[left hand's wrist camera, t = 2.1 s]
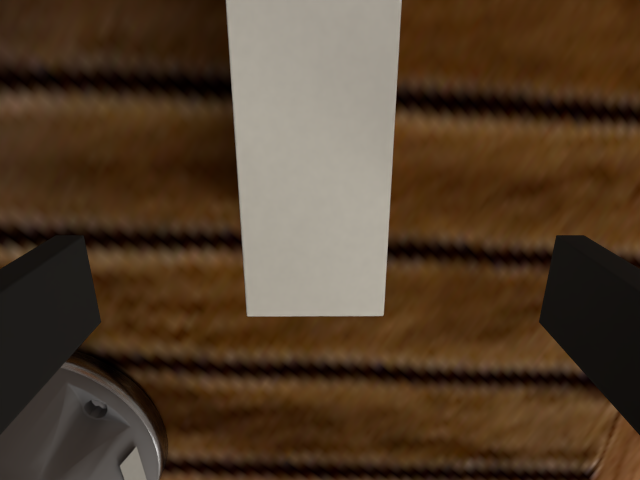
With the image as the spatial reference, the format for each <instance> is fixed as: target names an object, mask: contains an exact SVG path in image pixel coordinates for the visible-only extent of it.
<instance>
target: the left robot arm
mask: <svg viewBox="0 0 640 480" xmlns="http://www.w3.org/2000/svg"><path fill="white" fill-rule="evenodd" d="M100 323H101V320H100V315H99V310H98V305H97V300H96V295H95V290H94V285H93V280H92V275H91V270H90V265H89V260H88V255H87V250H86V245H85V240H84V235H56V236H54V237H53V238H51V239H49V240H48V241H46V242H44V243H43V244H41V245H39V246H38V247H36V248H34V249H33V250H31V251H29V252H28V253H26V254H24V255H23V256H21V257H19V258H18V259H16V260H15V261H13V262H11V263H10V264H8V265H6V266H5V267H3V268H1V269H0V480H160V478H161V475H162V472H163V470H164V467H165V464H166V460H167V454H168V443H167V435H166V430H165V427H164V424H163V421H162V419H161V417H160V415H159V413H158V411H157V409H156V408H155V406H154V404H153V403H152V402H151V400H150V399H149V398H148V396H147V395H146V394H145V393H144V392H143V391H142V390H141V388H140V387H139V386H137V385H136V384H135V383H134V382H133V381H132V380H131V379H129V378H128V377H127V376H126V375H124V374H123V373H121V372H120V371H118V370H117V369H115V368H114V367H112V366H110V365H109V364H107V363H105V362H103V361H101V360H99V359H96V358H94V357H92V356H89V355H87V354H84V353H81V352H78V351H76V349H77V348H78V347H79V346H80V345H81V344H82V343H83V342H84V340H85V339H86V338H87V337H88V336H89V335H90V334H91V333H92V331H93V330H94V329H95V328H96V327H97V326H98V325H99V324H100ZM539 323H540V324H541V325H542V326H543V327H544V328H545V329H546V330H547V331H548V333H549V334H550V335H551V336H552V337H553V338H554V339H555V340H556V342H557V343H558V344H559V345H560V346H561V347H562V348H563V349H564V351H565V352H566V353H567V354H568V355H569V356H570V357H571V358H572V360H573V361H574V362H575V363H576V364H577V365H578V366H579V367H580V369H581V370H582V371H583V372H584V373H585V374H586V375H587V376H588V378H589V379H590V380H591V381H592V382H593V383H594V384H595V385H596V387H597V388H598V389H599V390H600V391H601V392H602V393H603V394H604V396H605V397H606V398H607V399H608V400H609V401H610V402H611V403H612V404H613V406H614V407H615V408H616V409H617V410H618V411H619V412H620V413H621V415H622V416H623V417H624V418H625V419H626V420H627V421H628V422H629V424H630V425H631V426H632V427H633V428H634V429H635V430H636V431H637V433H638V434H639V435H640V269H639V268H637V267H635V266H634V265H632V264H630V263H629V262H627V261H625V260H624V259H622V258H621V257H619V256H617V255H616V254H614V253H612V252H611V251H609V250H607V249H606V248H604V247H602V246H601V245H599V244H597V243H596V242H594V241H592V240H591V239H589V238H587V237H586V236H584V235H556V240H555V245H554V250H553V255H552V260H551V265H550V270H549V275H548V280H547V285H546V290H545V295H544V300H543V305H542V310H541V315H540V320H539Z"/></svg>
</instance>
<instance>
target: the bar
mask: <svg viewBox="0 0 640 480" xmlns="http://www.w3.org/2000/svg"><path fill="white" fill-rule="evenodd" d="M401 3H402V0H226V12H227V27H228V42H229V57H230V71H231V86H232V101H233V116H234V131H235V146H236V161H237V176H238V191H239V205H240V220H241V235H242V250H243V265H244V280H245V295H246V310H247V316H383V315H384V300H385V282H386V265H387V247H388V230H389V212H390V195H391V177H392V160H393V143H394V125H395V108H396V90H397V73H398V55H399V38H400V20H401Z"/></svg>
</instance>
